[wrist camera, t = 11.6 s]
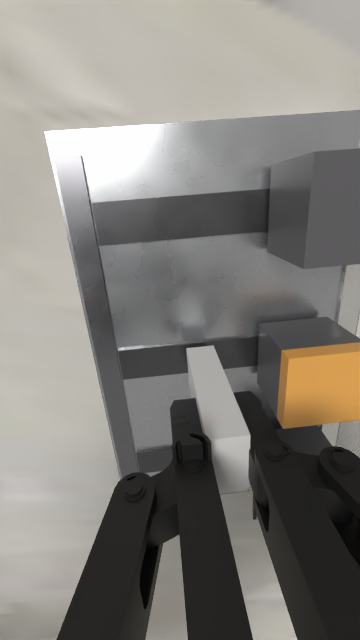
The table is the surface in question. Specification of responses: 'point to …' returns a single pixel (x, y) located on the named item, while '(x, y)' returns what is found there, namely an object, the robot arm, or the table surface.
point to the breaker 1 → (316, 209)
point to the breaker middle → (309, 371)
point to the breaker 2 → (304, 439)
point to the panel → (187, 259)
